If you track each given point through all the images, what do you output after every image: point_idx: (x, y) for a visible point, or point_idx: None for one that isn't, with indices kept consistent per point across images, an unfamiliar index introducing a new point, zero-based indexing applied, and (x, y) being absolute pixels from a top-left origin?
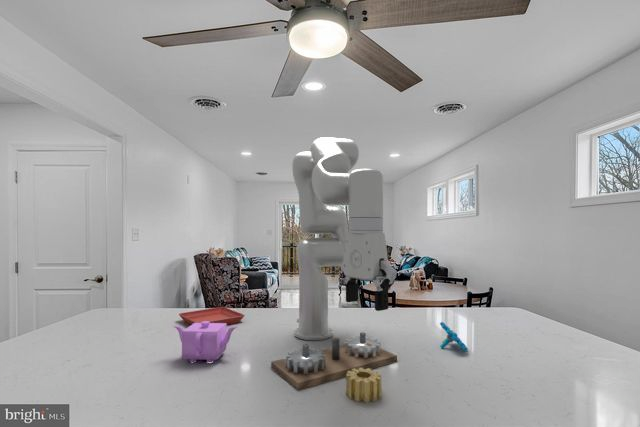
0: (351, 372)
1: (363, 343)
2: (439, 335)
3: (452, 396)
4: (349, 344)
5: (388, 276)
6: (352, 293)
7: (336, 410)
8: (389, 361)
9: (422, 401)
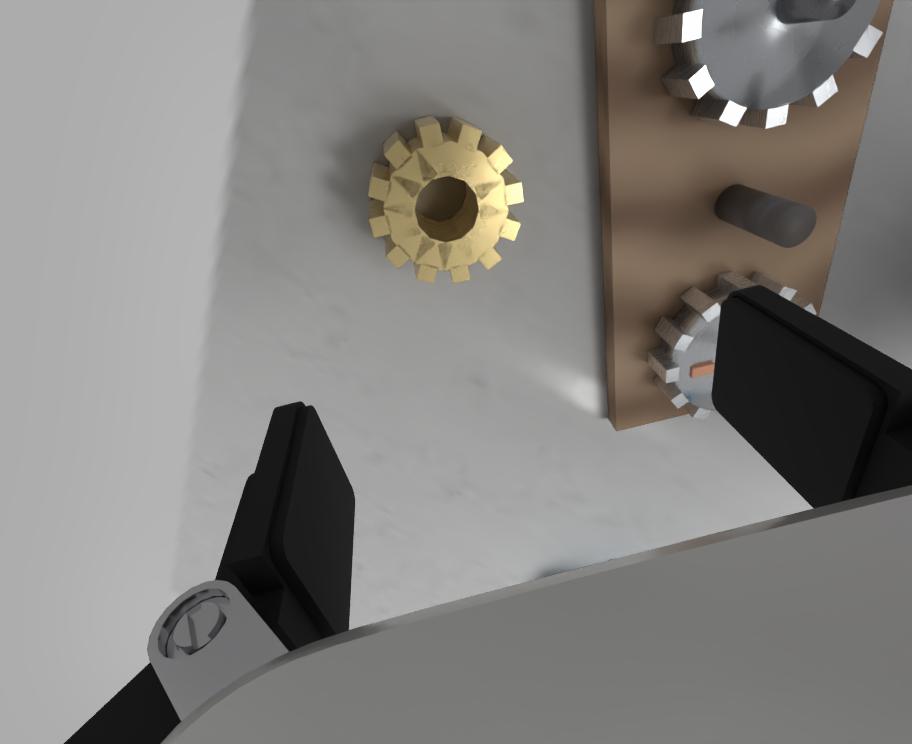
0: (490, 166)
1: None
2: None
3: (336, 443)
4: None
5: None
6: (769, 389)
7: (345, 4)
8: (610, 393)
9: (330, 355)
